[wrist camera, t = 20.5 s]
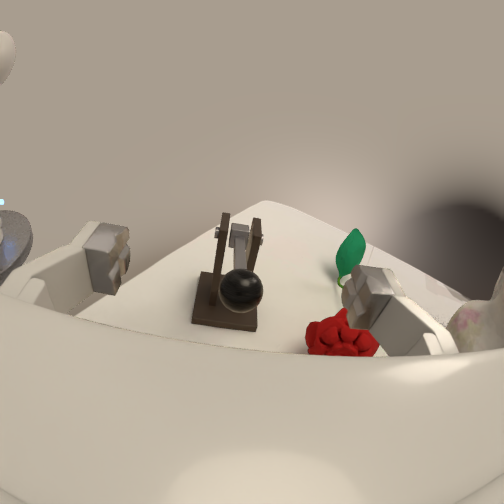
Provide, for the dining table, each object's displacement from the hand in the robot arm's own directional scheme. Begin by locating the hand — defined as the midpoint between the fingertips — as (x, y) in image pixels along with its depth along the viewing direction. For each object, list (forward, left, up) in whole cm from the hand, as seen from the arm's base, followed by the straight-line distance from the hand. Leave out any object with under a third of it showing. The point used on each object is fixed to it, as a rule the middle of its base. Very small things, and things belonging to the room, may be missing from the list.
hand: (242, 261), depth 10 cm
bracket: (+1, +23, -26) cm, 34 cm away
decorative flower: (+22, +23, -26) cm, 41 cm away
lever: (+1, +16, -13) cm, 21 cm away
